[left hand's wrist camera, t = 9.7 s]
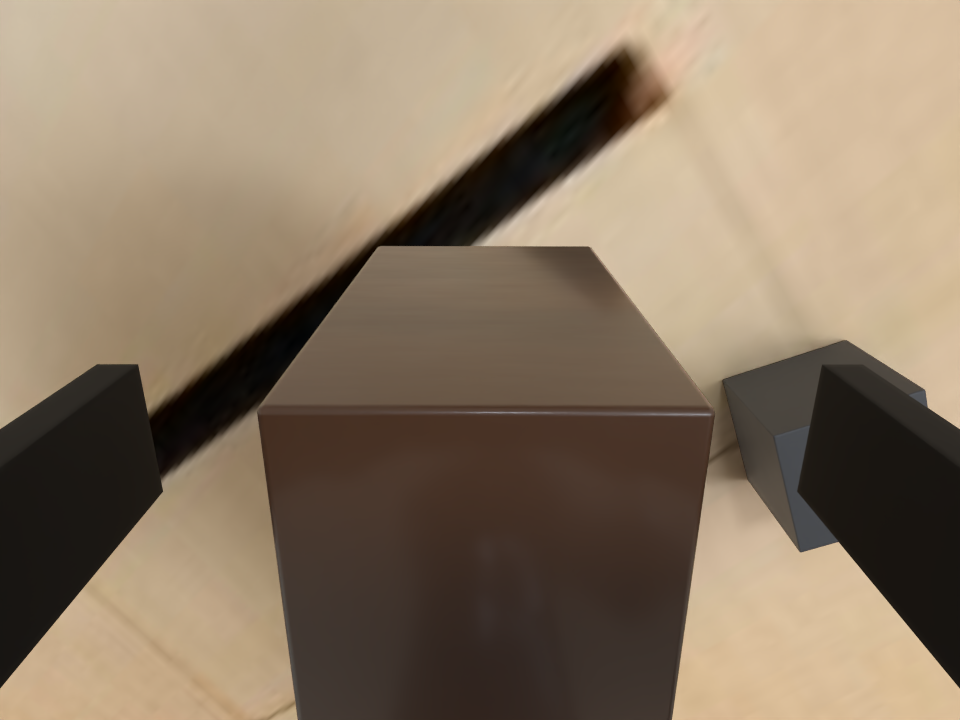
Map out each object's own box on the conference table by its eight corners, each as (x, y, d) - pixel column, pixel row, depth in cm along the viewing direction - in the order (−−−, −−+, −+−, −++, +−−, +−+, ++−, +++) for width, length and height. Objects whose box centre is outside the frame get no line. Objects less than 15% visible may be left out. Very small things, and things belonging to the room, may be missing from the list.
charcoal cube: (722, 379, 27) (773, 436, 22) (846, 339, 26) (925, 389, 22) (747, 480, 28) (800, 553, 24) (865, 445, 28) (943, 512, 23)
